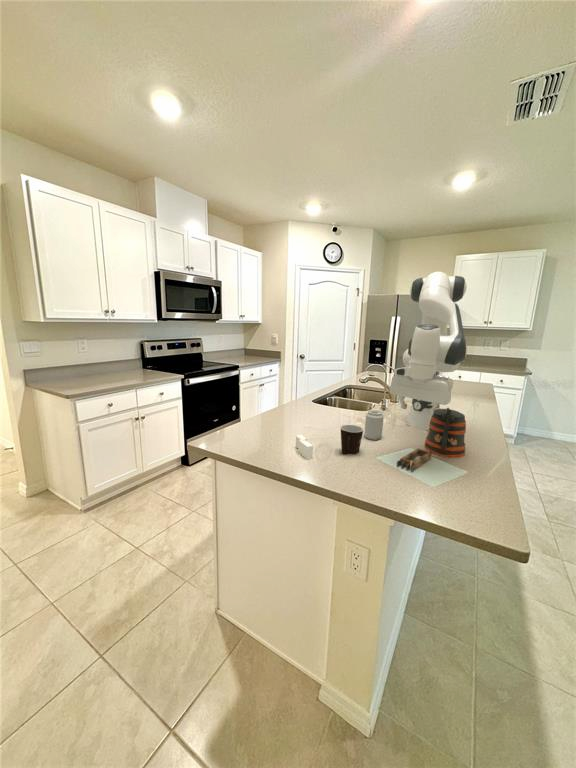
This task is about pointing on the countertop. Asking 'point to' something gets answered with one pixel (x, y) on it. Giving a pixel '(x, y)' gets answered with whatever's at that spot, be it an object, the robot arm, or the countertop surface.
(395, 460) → the wall panel
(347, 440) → the coffee mug
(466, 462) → the countertop surface
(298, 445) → the napkin holder
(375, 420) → the can
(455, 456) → the striped backpack
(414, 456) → the dark brown long piece
